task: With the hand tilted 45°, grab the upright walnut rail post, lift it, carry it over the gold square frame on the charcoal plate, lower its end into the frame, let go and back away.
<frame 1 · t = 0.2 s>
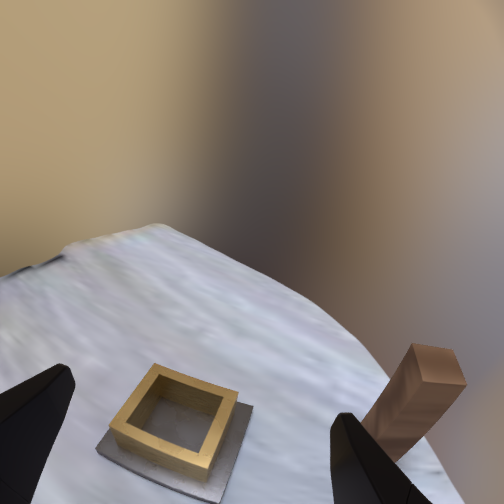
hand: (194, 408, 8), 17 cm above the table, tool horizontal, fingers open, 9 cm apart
rail post: (367, 454, 21), on the table
gold square frame: (178, 436, 21), on the table
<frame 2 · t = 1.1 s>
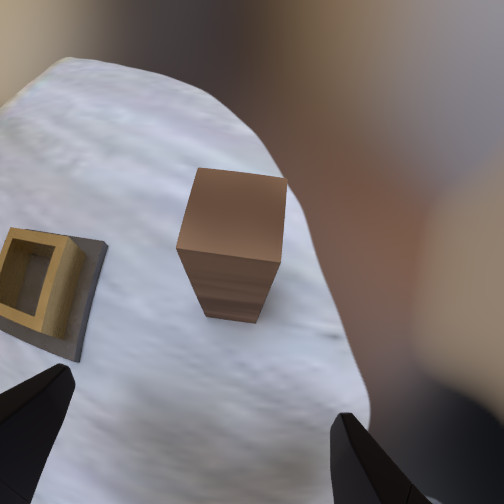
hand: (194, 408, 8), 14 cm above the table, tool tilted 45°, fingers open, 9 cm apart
rail post: (234, 296, 23), on the table
gold square frame: (47, 290, 22), on the table
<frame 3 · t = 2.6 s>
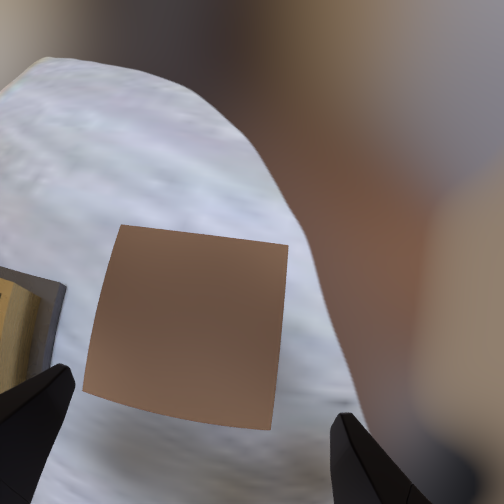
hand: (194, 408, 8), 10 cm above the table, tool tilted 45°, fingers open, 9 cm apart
rail post: (217, 357, 18), on the table
gold square frame: (6, 336, 16), on the table
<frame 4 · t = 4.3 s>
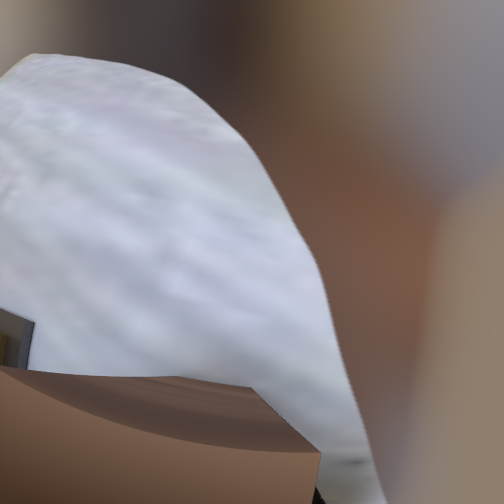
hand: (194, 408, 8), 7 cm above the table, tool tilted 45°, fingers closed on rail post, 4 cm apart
rail post: (208, 417, 13), on the table, touching gripper
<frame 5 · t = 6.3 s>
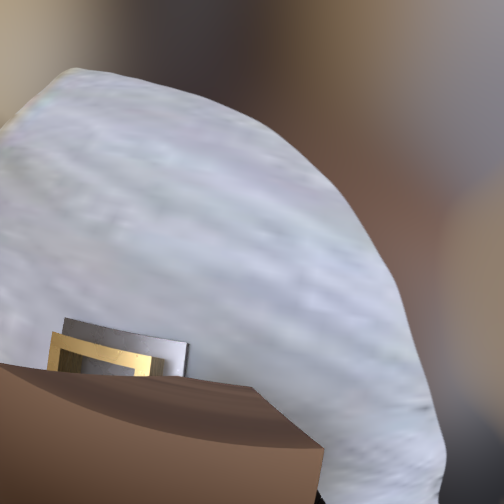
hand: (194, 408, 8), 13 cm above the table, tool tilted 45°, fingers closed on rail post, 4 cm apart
rail post: (209, 417, 13), point 7 cm above the table, touching gripper
gold square frame: (115, 397, 19), on the table
when the fingers open (8 cm above the table, at t = 8.7 s): rail post stays where it is, resting on gold square frame.
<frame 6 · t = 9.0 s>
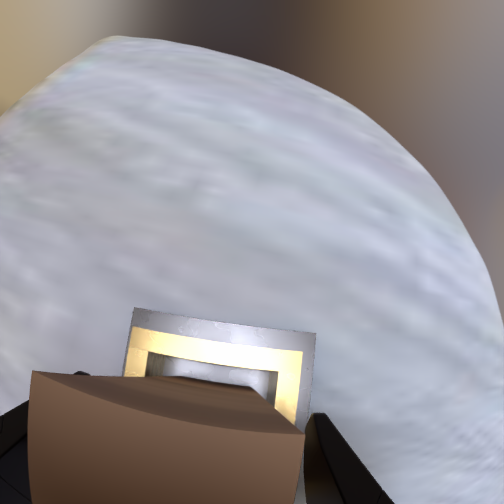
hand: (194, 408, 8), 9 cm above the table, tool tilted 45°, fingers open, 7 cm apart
rail post: (211, 414, 14), point 1 cm above the table, touching gold square frame
gold square frame: (211, 412, 15), on the table
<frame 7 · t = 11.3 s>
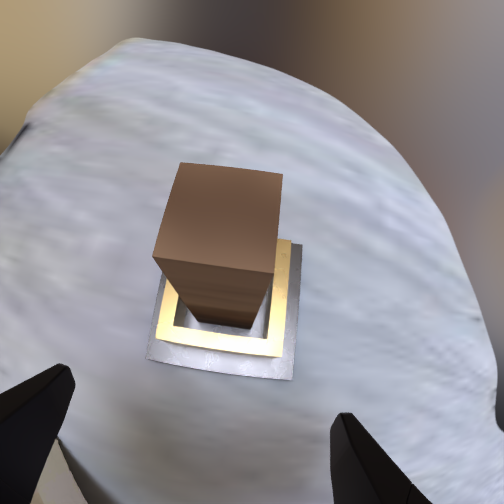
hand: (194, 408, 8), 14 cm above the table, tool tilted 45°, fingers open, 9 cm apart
rail post: (227, 300, 22), point 1 cm above the table, touching gold square frame
gold square frame: (227, 303, 23), on the table
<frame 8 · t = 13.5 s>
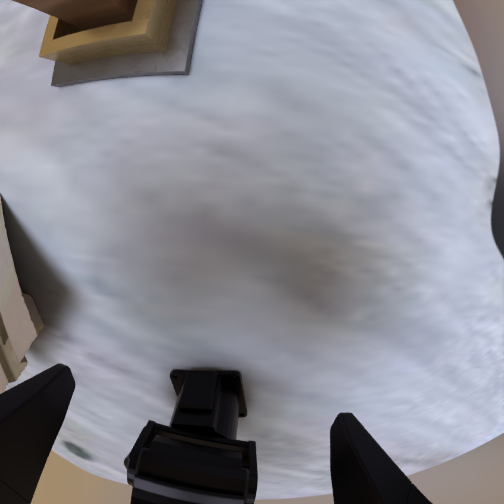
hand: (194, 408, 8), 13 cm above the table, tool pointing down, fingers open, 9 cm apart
rail post: (123, 8, 13), point 1 cm above the table, touching gold square frame
gold square frame: (128, 13, 14), on the table
wall: (14, 282, 23), on the table
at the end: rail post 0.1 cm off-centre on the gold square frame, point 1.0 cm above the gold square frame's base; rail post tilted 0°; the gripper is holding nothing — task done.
